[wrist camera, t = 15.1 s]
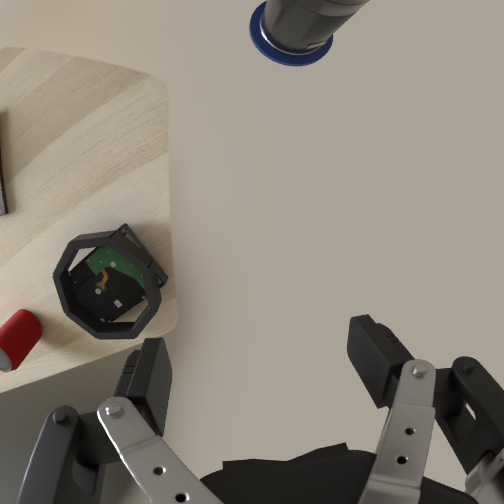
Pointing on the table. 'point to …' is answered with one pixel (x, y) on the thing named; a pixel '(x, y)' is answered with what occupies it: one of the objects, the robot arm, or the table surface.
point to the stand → (2, 193)
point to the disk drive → (111, 281)
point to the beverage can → (18, 339)
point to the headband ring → (87, 318)
